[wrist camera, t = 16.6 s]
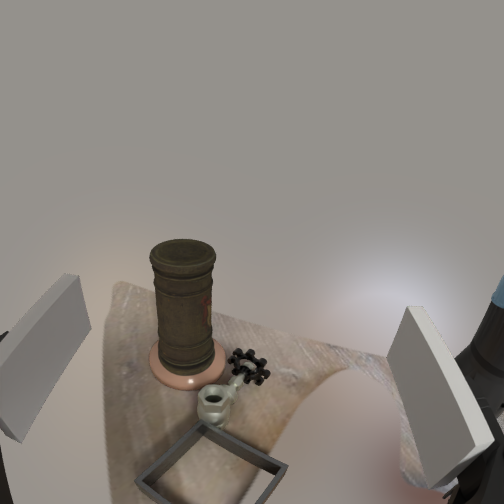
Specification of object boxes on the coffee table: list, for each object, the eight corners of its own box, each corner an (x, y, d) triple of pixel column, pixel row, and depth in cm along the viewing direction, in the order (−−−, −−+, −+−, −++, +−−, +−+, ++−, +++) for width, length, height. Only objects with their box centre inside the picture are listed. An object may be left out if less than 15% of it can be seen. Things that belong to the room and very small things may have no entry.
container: (173, 384, 41) (164, 275, 34) (149, 347, 48) (138, 244, 40) (226, 363, 46) (232, 258, 39) (197, 331, 53) (197, 232, 45)
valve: (227, 445, 35) (268, 388, 45) (228, 418, 32) (273, 357, 42) (184, 422, 37) (229, 371, 47) (180, 393, 35) (231, 340, 44)
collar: (202, 430, 36) (201, 418, 35) (284, 475, 31) (288, 465, 30) (139, 489, 27) (133, 480, 25) (227, 549, 21) (228, 545, 20)
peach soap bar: (184, 329, 55) (183, 322, 55) (239, 358, 50) (240, 351, 49) (135, 363, 46) (133, 357, 45) (192, 403, 40) (192, 397, 40)
